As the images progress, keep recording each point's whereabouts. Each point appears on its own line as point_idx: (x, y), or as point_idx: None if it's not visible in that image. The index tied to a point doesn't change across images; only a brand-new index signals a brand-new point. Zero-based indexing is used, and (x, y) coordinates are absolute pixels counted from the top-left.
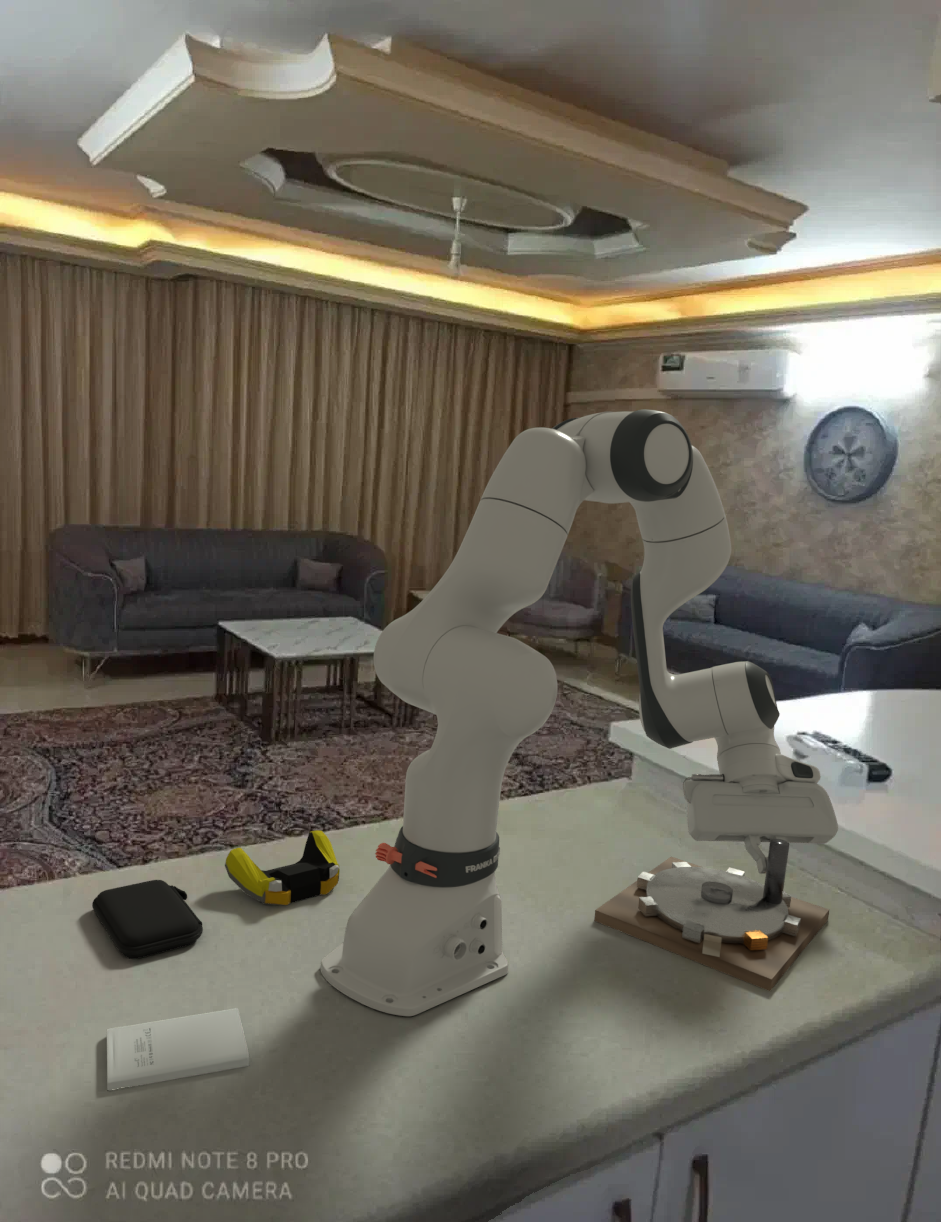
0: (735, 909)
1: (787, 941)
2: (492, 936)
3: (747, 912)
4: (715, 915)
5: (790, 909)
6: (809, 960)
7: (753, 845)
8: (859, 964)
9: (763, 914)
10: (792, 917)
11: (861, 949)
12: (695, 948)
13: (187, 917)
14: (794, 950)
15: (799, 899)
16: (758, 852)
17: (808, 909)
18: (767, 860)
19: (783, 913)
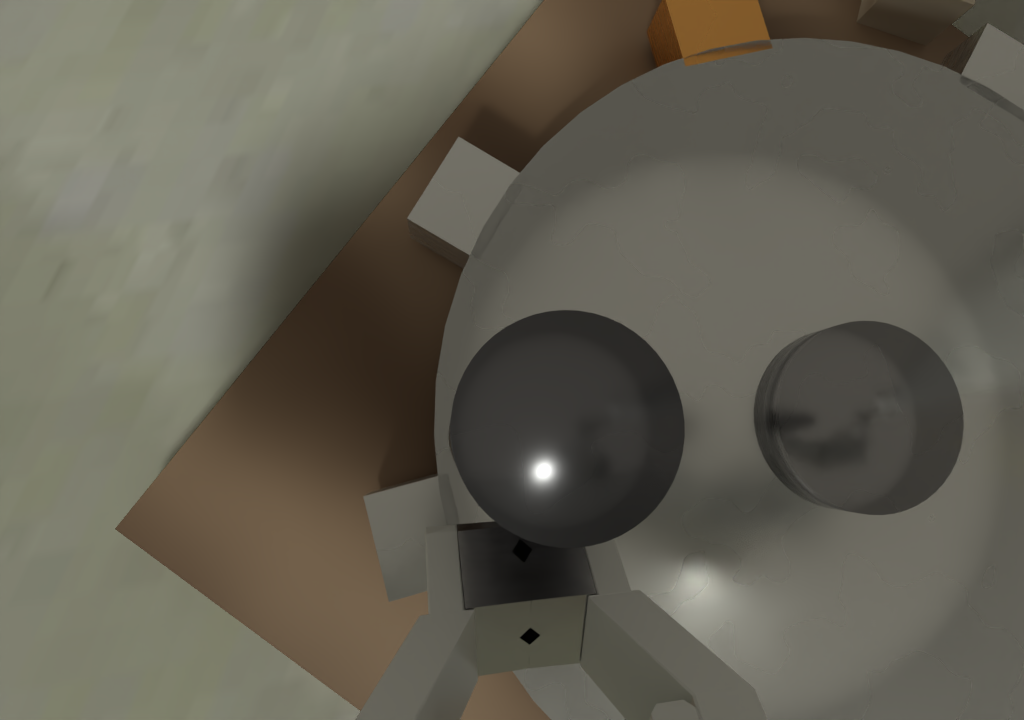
0: (761, 280)
1: (508, 137)
2: None
3: (702, 252)
4: (885, 197)
5: (366, 492)
6: (414, 108)
7: (725, 674)
8: (180, 95)
9: (617, 237)
10: (454, 224)
11: (99, 231)
12: (958, 36)
13: None
14: (502, 57)
15: (259, 635)
16: (660, 619)
17: (253, 506)
18: (567, 569)
19: (492, 265)
